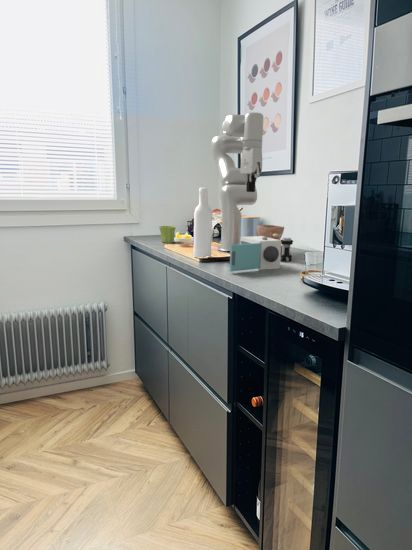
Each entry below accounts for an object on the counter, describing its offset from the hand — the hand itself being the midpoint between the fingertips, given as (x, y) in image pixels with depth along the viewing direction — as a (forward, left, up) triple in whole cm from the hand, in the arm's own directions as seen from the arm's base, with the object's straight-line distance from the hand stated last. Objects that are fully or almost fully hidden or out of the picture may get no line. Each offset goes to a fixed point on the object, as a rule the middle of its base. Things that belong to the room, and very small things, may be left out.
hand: (250, 191), depth 170 cm
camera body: (+12, -2, -29) cm, 31 cm away
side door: (+20, -13, -28) cm, 37 cm away
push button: (+7, +14, -29) cm, 33 cm away
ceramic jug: (-5, +14, -29) cm, 33 cm away
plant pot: (-62, -13, -29) cm, 70 cm away
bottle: (-14, -15, -29) cm, 36 cm away
